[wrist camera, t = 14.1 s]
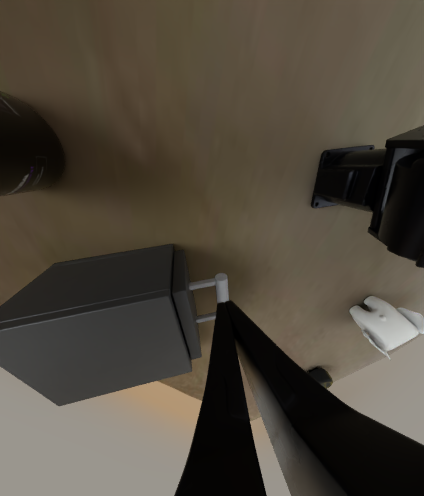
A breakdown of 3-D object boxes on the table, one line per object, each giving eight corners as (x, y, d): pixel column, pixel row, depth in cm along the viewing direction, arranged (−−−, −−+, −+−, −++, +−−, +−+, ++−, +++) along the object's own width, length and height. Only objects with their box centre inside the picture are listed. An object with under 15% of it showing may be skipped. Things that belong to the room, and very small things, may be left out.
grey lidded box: (172, 243, 20) (168, 296, 12) (188, 307, 25) (192, 371, 17) (54, 263, 18) (-42, 338, 10) (98, 326, 24) (58, 406, 16)
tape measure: (302, 370, 45) (311, 386, 42) (324, 362, 45) (335, 377, 42) (302, 380, 49) (311, 395, 46) (323, 372, 49) (333, 387, 46)
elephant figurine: (350, 330, 39) (392, 371, 31) (337, 309, 34) (384, 352, 26) (386, 308, 37) (440, 345, 30) (378, 282, 32) (442, 320, 24)
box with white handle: (217, 243, 20) (235, 280, 14) (222, 301, 25) (237, 348, 19) (74, 267, 18) (17, 324, 12) (111, 325, 23) (85, 386, 17)
